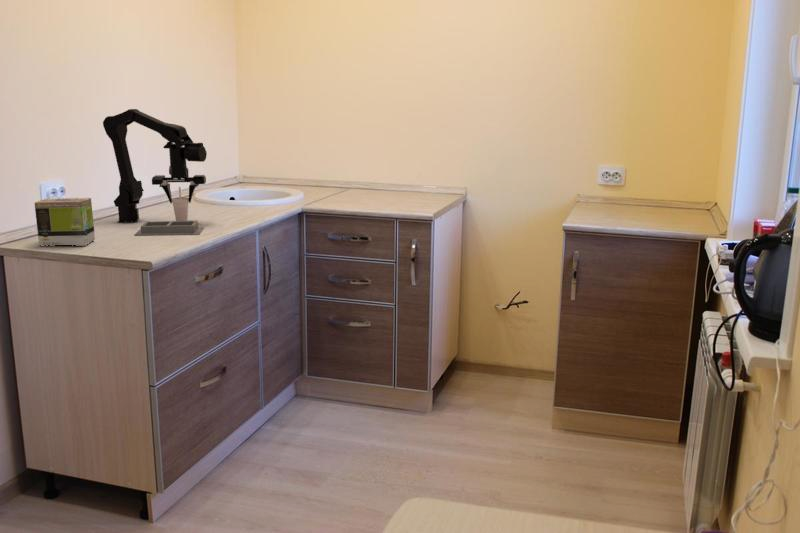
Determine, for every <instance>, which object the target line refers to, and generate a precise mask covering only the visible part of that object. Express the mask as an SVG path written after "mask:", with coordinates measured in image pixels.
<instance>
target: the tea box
mask: <svg viewBox="0 0 800 533" xmlns="http://www.w3.org/2000/svg"><path fill="white" fill-rule="evenodd" d="M92 204H93V203H92V198H91V197H61V198H60V197H58V198H57V197H56V198H50V197H48V198H44V199H41V200H39V201H36V202H34V210H35V212H34V213H35V220H36V227H37V236H38V245H42V246H41V247H56V246H55V245H72V246H71V247H74V246H73V245H76V246H75V247H86V246H88V245H90V244H91V243H93V242H95V241H94V240H96V238H95V237H96V236H95V225H94V216H93V215H94V214H93V206H92ZM92 241H93V242H92ZM90 242H91V243H90ZM89 243H90V244H89ZM87 244H88V245H87ZM44 245H46V246H44ZM48 245H50V246H48Z"/></svg>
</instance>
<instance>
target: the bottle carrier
mask: <svg viewBox="0 0 800 533" xmlns="http://www.w3.org/2000/svg"><path fill="white" fill-rule="evenodd" d="M204 229H205V226H199V222H198V220H187V221H176V220H172V221H171V220H168V221H161V220H160V221H156V220H155V221H153V220H152V221H145V222H144V223H143V224H141V226H140V228H139V230H138V231H137V232H136V233H134V236H135V237H140V236H146V237H148V236H200V235H201V233H202V231H203V230H204Z"/></svg>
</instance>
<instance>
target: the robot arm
mask: <svg viewBox="0 0 800 533" xmlns="http://www.w3.org/2000/svg"><path fill="white" fill-rule="evenodd" d="M133 123H136V124H139V125H140V126H143V127H145V128H147V129H149V130H152V131H154V132H155V133H156V132H157V133H158V134H159V135H160V136H161V137H162V138H163V139H164V140H167V142H166V143H165V144H164V146H163V149H169V150H168V151H169V167H168V174H169V175H170V177H166V175H163V174H162V175H161V174H159V175H156V174H155V175H154V176H152V178H151V184H152V186H154V185H156V186H157V185H158V186H159V188H162V190H163V191H164V193H165V194H166V196H167V198H168V201H169V203H170V204H173V202H172V199H173V197H172V191H171V183H190V184H189V185H188V189H189V190H188V198H189V202H188V204H191V202H192V199H193V195H194V192H195V189H196V188H197V187H198V186H200V185H205V184H206V183H207V177H206V175H205V174H194V175H193V177H192V176H191V177H190V176H189V168H188V166H187V161H188V162H198V163H199V162H202V163H204V162H205V161H206V160H207V150H206V148H205V146H204V143H203V142H194V141H193V140H192V138H191V137H190V136H189V134H188V133H187V132H188V131H187V129H186V127H184V126H183V125H179V124H176V123H168V122H164V121H163V120H160V119H158V118H155V117H153V116H152V115H148V114H147V113H144V112H143V111H140V110H139V109H138V108H131V109H130V108H129V109H127V110H125V111H123V112H121V113H118V114H115V115H109V116H106V117H105V118H104V119H103V122H102V125H103V129H104V131H105V134H106V135H107V137H108V138H109V140H110V141H111V142H112V147H113V152H114V156H115V159H116V164H117V169H118V173H119V174H118V175H119V178H120V181H119V184H118V192H119V194H118V196H116V198H115V199H114V200H113V203H114V205H115V207H116V208H117V210H118V221H117V223H136V222H137V221H139V220H140V213H139V212H140V211H139V208H138V206H137V205H138V204H140V200H141V198H143V197H142V196H144V195H143V194H144V188H143V185H142V184H143V183H142V181H141V180H137V178H136V177H135V173H134V171H133V165H132V162H131V156H130V153H129V148H128V144H127V143H128V142H127V139H126V138H127V134H128V126H130V125H131V124H133Z"/></svg>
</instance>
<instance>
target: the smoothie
mask: <svg viewBox="0 0 800 533" xmlns="http://www.w3.org/2000/svg"><path fill="white" fill-rule="evenodd" d="M178 194H179V197H172V206H173V213H174V217H175V221H188V214H189V197H182V193H181V186H179V187H178Z"/></svg>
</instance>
